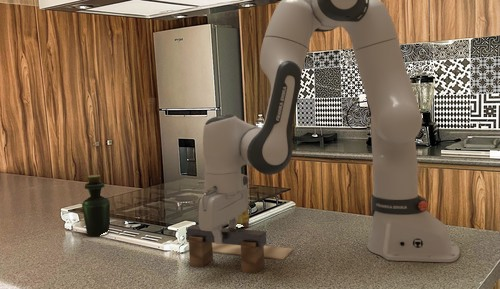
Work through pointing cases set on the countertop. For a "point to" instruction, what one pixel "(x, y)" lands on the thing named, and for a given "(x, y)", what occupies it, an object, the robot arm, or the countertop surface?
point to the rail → (229, 235)
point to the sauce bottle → (244, 217)
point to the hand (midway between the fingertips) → (225, 238)
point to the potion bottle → (96, 208)
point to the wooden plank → (269, 251)
